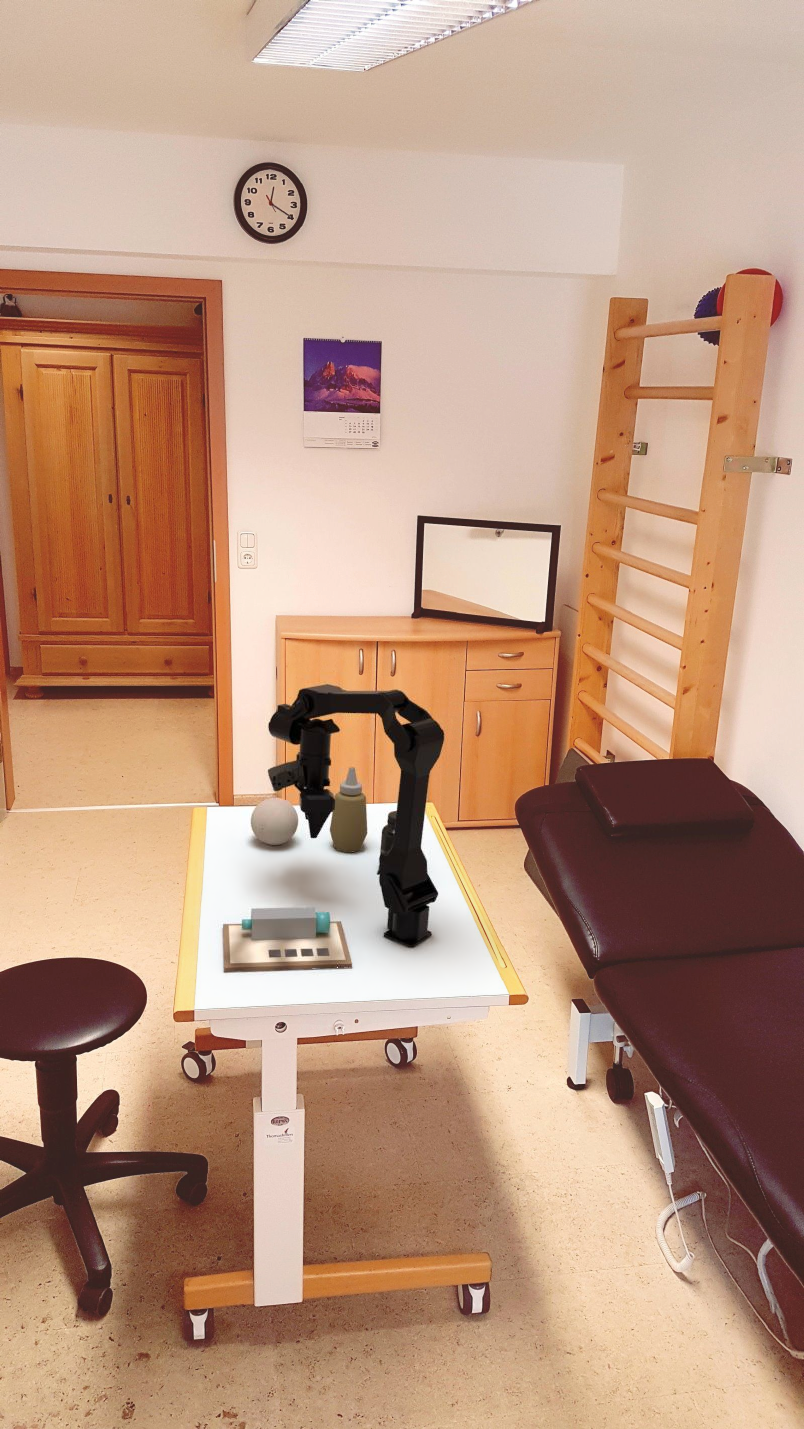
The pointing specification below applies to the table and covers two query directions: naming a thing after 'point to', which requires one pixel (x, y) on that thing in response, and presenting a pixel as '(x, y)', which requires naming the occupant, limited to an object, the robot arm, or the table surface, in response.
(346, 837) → the squeeze bottle
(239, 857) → the table surface
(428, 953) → the table surface
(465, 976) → the table surface
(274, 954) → the brown framed board
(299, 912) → the marker
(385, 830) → the supplement bottle
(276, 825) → the beige ball
